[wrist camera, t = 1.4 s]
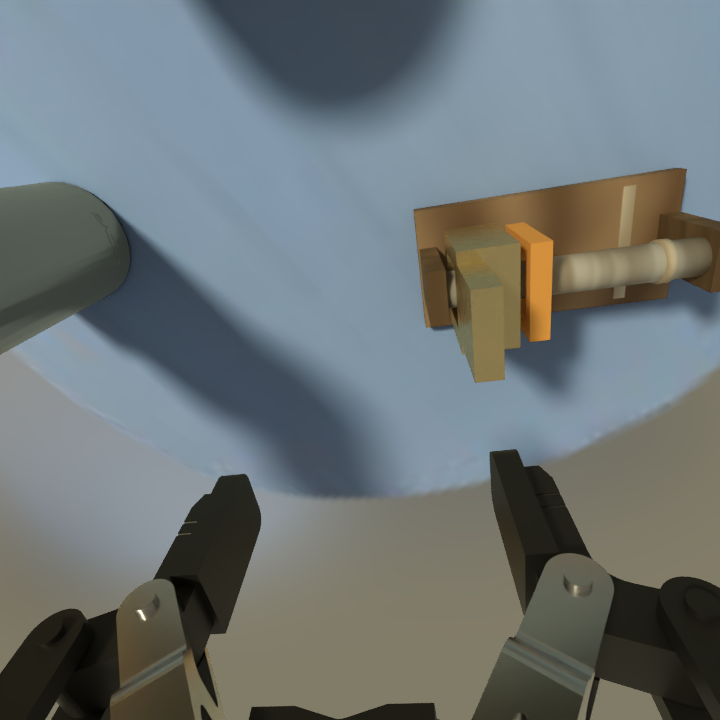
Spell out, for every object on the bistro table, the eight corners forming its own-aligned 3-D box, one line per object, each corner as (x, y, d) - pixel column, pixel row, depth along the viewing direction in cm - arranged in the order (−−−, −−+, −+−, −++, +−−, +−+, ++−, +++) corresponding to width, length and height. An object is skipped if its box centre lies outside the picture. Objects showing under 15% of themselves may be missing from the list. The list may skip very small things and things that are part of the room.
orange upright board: (506, 308, 32) (529, 342, 27) (505, 224, 30) (530, 244, 24) (523, 306, 32) (550, 339, 27) (523, 222, 29) (553, 240, 24)
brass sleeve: (450, 317, 33) (475, 394, 23) (443, 230, 30) (469, 276, 20) (497, 310, 33) (544, 387, 23) (495, 222, 30) (548, 265, 20)
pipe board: (425, 322, 36) (432, 364, 29) (413, 209, 32) (419, 228, 26) (658, 292, 34) (724, 331, 27) (676, 167, 30) (759, 176, 23)
